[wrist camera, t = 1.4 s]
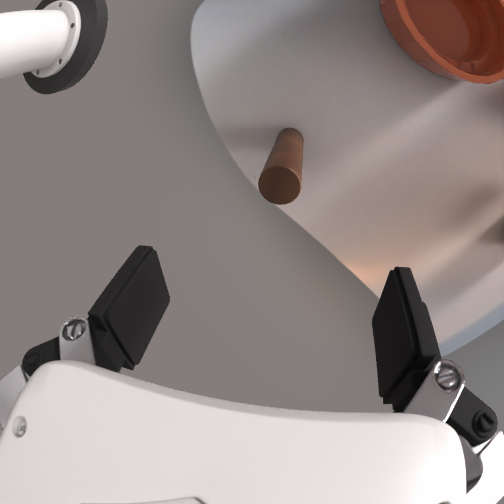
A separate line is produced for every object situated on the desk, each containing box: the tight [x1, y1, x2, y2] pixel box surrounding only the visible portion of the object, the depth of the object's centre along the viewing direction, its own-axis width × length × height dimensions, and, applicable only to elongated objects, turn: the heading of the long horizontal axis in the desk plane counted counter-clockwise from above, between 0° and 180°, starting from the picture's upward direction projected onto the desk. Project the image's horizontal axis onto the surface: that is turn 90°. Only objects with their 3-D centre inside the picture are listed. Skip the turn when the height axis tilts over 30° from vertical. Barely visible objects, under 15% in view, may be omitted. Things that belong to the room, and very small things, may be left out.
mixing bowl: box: [380, 0, 504, 84], centre depth 14 cm, size 16×16×6 cm
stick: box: [258, 128, 304, 205], centre depth 25 cm, size 3×3×14 cm
